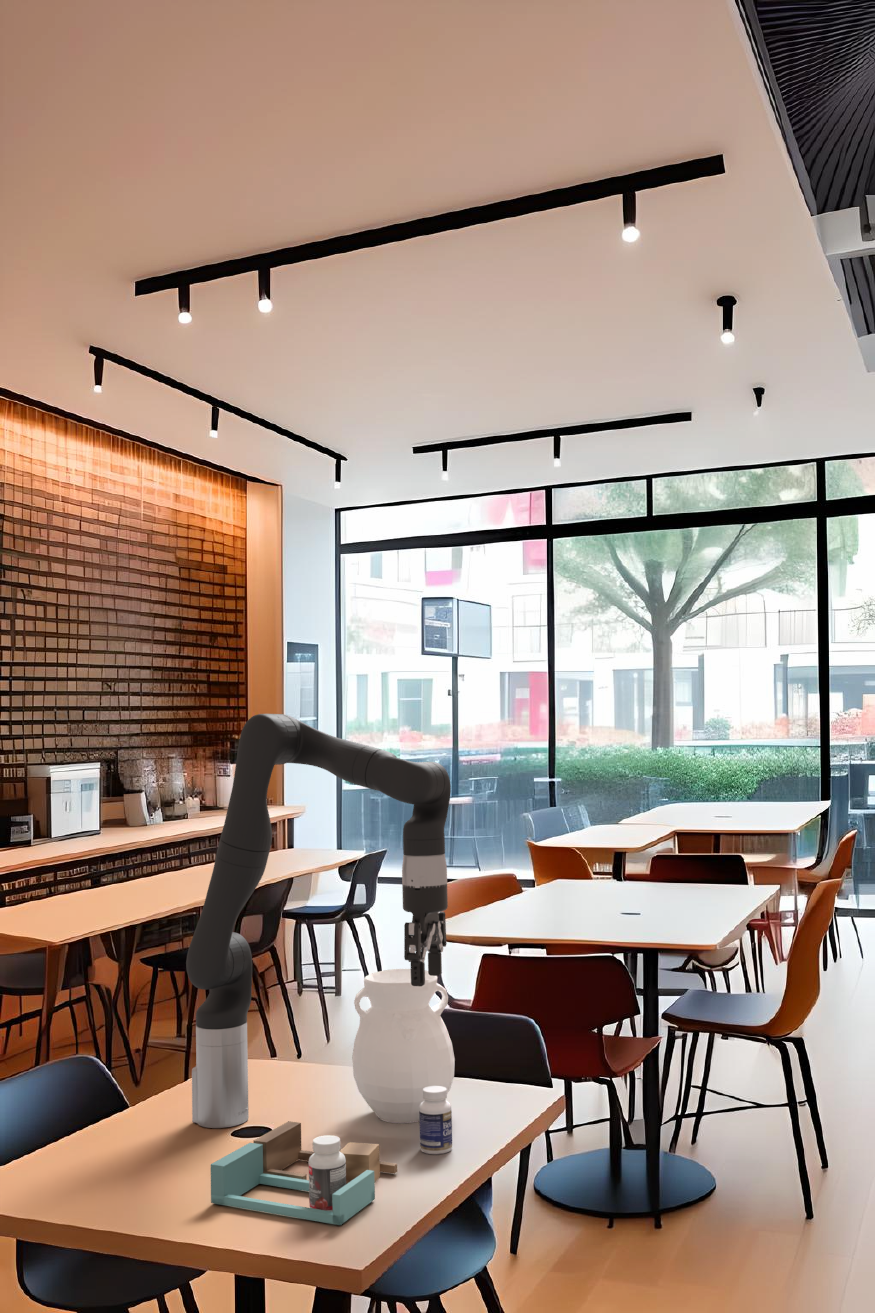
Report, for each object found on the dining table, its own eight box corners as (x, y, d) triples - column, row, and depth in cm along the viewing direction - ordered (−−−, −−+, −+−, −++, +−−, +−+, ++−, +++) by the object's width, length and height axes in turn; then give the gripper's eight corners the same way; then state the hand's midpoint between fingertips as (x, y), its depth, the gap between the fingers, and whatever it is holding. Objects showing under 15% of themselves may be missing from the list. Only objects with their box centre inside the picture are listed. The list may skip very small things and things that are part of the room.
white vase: (358, 1136, 196) (354, 988, 198) (349, 1104, 214) (346, 969, 216) (464, 1127, 198) (460, 981, 201) (447, 1097, 217) (443, 963, 219)
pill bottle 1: (301, 1211, 164) (300, 1141, 165) (328, 1199, 168) (326, 1131, 169) (327, 1220, 161) (326, 1148, 162) (354, 1207, 165) (352, 1138, 166)
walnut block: (338, 1187, 173) (337, 1153, 173) (349, 1175, 178) (348, 1142, 178) (369, 1189, 172) (368, 1155, 172) (380, 1177, 176) (379, 1144, 177)
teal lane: (210, 1203, 167) (210, 1164, 168) (250, 1179, 176) (249, 1142, 177) (340, 1225, 158) (339, 1184, 158) (374, 1199, 167) (374, 1160, 167)
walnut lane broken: (254, 1177, 177) (253, 1140, 178) (289, 1156, 186) (288, 1121, 187) (366, 1194, 169) (365, 1156, 169) (397, 1171, 178) (396, 1135, 178)
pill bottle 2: (449, 1156, 185) (447, 1094, 186) (417, 1154, 186) (415, 1093, 187) (455, 1144, 190) (453, 1084, 191) (424, 1143, 191) (422, 1083, 192)
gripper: (418, 876, 198) (419, 971, 197) (388, 886, 185) (390, 988, 183) (459, 877, 196) (461, 973, 194) (432, 887, 182) (434, 990, 181)
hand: (426, 980), depth 189 cm, fingers open, 8 cm apart
